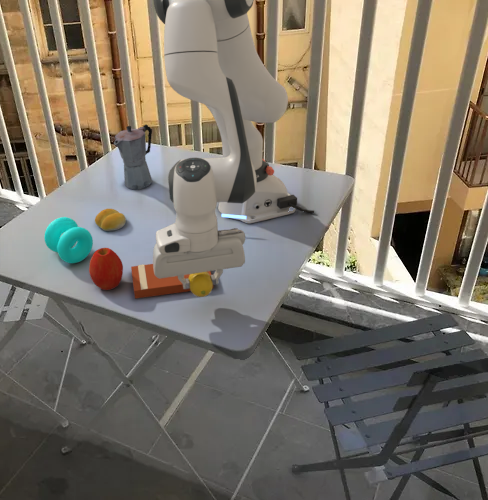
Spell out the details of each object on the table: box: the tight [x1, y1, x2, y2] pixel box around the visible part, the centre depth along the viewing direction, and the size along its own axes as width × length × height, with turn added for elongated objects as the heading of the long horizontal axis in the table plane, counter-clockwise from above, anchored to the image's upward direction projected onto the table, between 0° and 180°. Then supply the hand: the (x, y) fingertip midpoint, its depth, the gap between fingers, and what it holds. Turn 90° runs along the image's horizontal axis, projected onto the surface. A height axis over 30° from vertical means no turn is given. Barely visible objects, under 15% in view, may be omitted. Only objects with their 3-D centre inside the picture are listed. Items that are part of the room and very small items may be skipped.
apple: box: [88, 247, 124, 291], centre depth 136 cm, size 8×8×11 cm
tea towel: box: [130, 263, 215, 299], centre depth 138 cm, size 19×10×2 cm, turn 97°
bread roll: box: [94, 208, 127, 232], centre depth 162 cm, size 8×9×4 cm
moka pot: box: [113, 124, 153, 190], centre depth 178 cm, size 10×15×20 cm, turn 139°
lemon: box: [189, 272, 214, 298], centre depth 126 cm, size 7×5×5 cm
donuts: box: [43, 216, 94, 264], centre depth 148 cm, size 10×10×10 cm
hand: (200, 285), depth 127 cm, fingers closed on lemon, 5 cm apart
